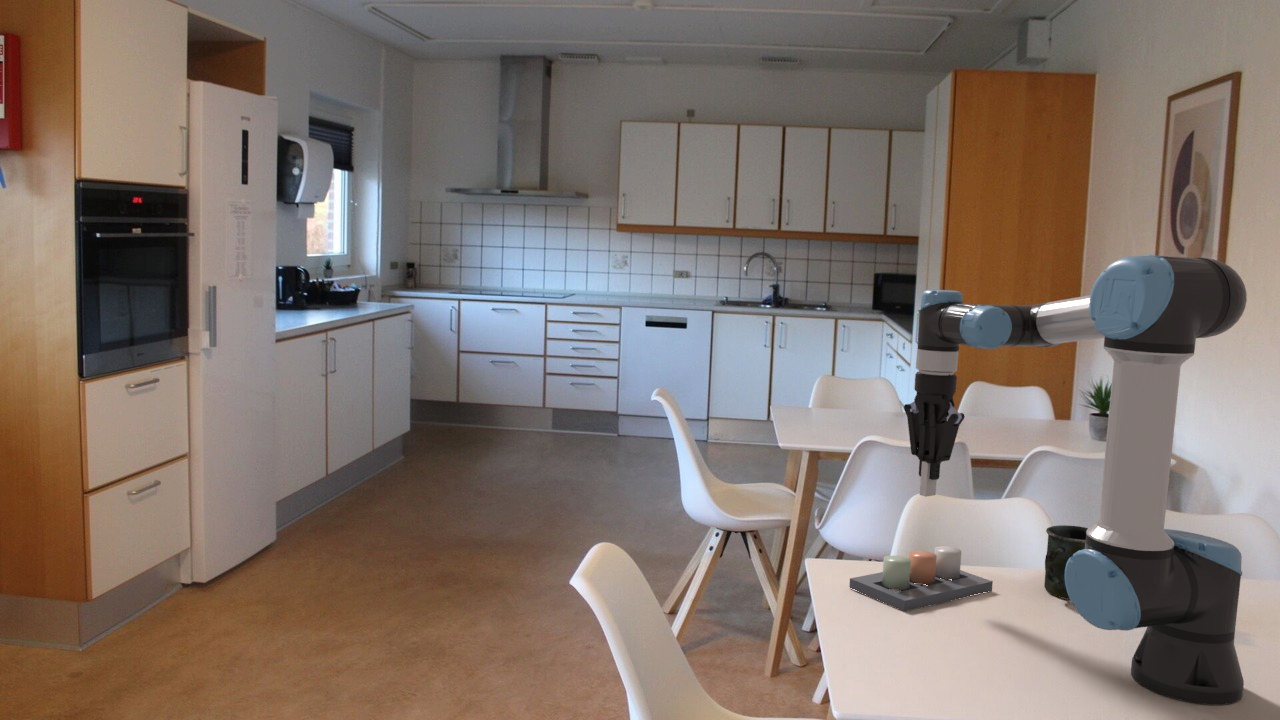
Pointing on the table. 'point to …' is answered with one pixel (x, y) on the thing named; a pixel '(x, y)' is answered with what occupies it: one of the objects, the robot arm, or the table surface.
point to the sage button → (896, 572)
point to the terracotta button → (922, 567)
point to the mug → (1061, 555)
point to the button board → (921, 590)
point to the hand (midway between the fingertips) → (927, 494)
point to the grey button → (948, 562)
